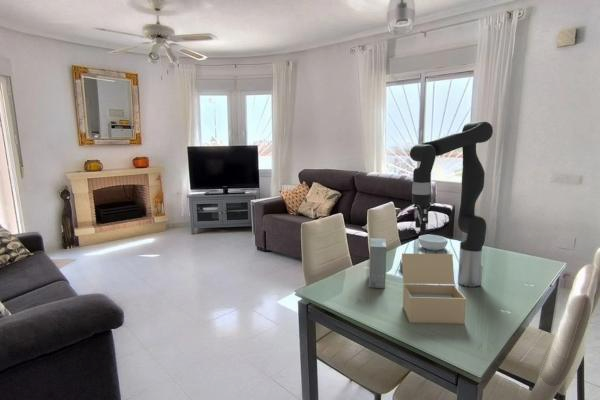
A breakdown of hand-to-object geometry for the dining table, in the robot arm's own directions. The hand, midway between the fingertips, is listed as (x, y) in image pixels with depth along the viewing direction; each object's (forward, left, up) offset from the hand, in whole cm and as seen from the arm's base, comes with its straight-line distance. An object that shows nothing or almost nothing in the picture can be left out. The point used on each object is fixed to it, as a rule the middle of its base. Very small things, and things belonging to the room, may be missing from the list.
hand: (420, 229), depth 146 cm
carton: (-1, +18, -30) cm, 35 cm away
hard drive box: (+16, -14, -30) cm, 37 cm away
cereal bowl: (-26, -68, -30) cm, 79 cm away
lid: (-1, +10, -14) cm, 17 cm away
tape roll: (-6, -30, -30) cm, 43 cm away
